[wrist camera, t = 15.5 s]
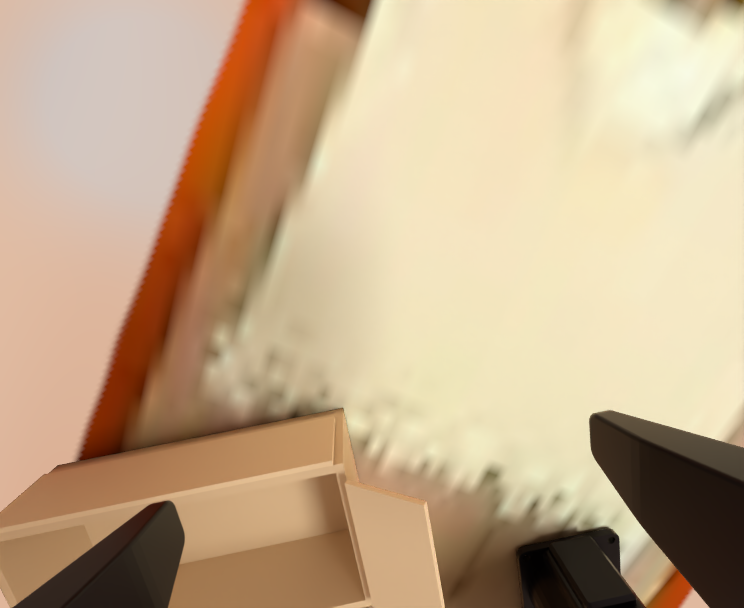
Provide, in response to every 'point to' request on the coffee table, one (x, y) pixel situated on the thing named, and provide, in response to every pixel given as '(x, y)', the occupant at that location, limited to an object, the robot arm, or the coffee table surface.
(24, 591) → the carton
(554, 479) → the coffee table surface
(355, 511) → the inner flap
